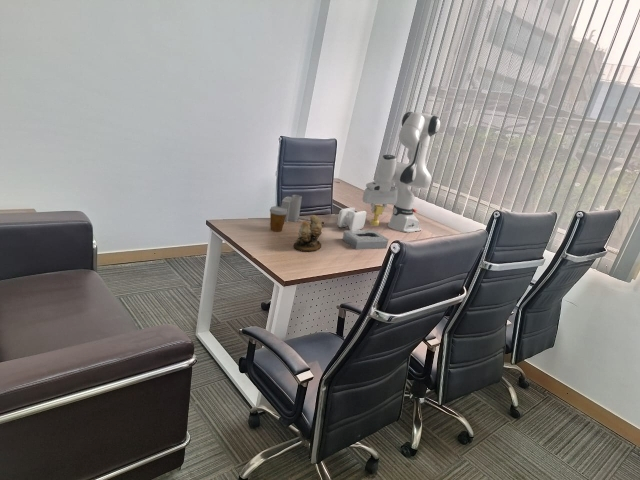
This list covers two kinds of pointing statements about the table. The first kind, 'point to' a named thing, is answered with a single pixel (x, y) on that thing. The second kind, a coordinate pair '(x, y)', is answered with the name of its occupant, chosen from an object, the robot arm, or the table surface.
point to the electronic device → (293, 208)
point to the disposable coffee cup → (277, 218)
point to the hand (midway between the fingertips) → (377, 211)
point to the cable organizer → (351, 219)
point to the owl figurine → (309, 235)
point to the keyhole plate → (365, 239)
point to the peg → (376, 215)
